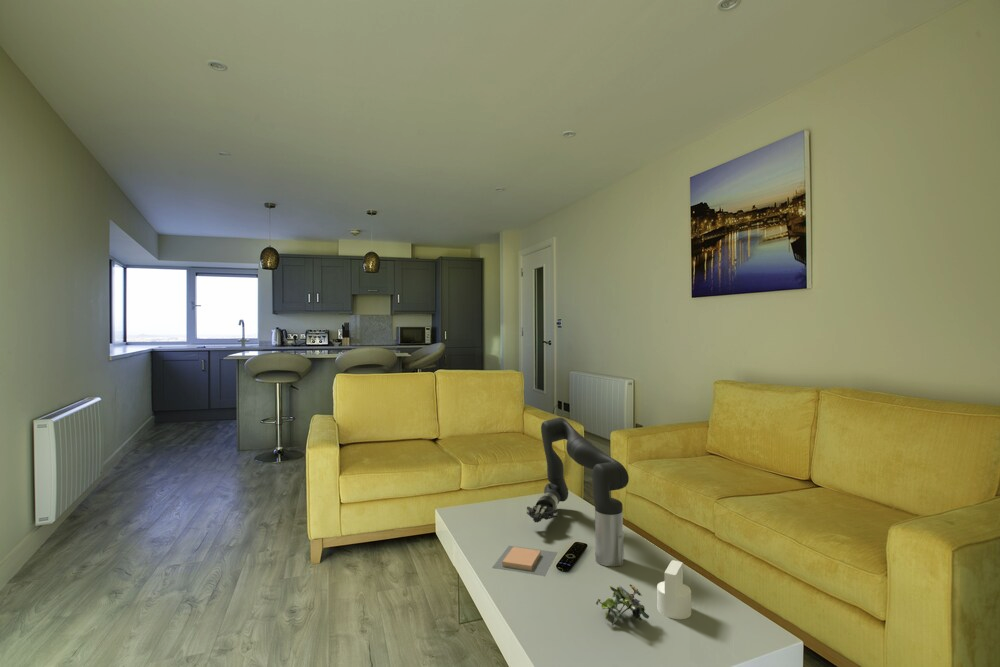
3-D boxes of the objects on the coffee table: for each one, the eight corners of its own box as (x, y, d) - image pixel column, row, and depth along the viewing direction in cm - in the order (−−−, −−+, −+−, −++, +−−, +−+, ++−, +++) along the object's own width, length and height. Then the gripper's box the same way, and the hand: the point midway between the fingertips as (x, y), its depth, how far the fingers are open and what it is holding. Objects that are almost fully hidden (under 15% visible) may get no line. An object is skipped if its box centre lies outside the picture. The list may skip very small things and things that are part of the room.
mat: (557, 553, 177) (557, 552, 177) (544, 577, 160) (544, 575, 160) (508, 546, 183) (508, 545, 183) (491, 568, 166) (491, 567, 166)
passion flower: (635, 637, 137) (659, 612, 132) (607, 644, 131) (631, 617, 127) (613, 598, 146) (635, 572, 141) (585, 602, 140) (608, 576, 135)
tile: (540, 550, 175) (531, 565, 164) (540, 555, 175) (531, 570, 164) (513, 546, 178) (502, 561, 167) (513, 551, 178) (502, 566, 167)
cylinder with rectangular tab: (687, 622, 135) (687, 578, 135) (653, 613, 139) (653, 570, 139) (694, 607, 142) (693, 564, 142) (661, 598, 147) (661, 557, 147)
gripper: (531, 493, 208) (519, 508, 191) (563, 497, 203) (553, 511, 187) (531, 511, 208) (519, 527, 191) (563, 515, 203) (553, 531, 187)
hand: (536, 519), depth 189 cm, fingers closed
